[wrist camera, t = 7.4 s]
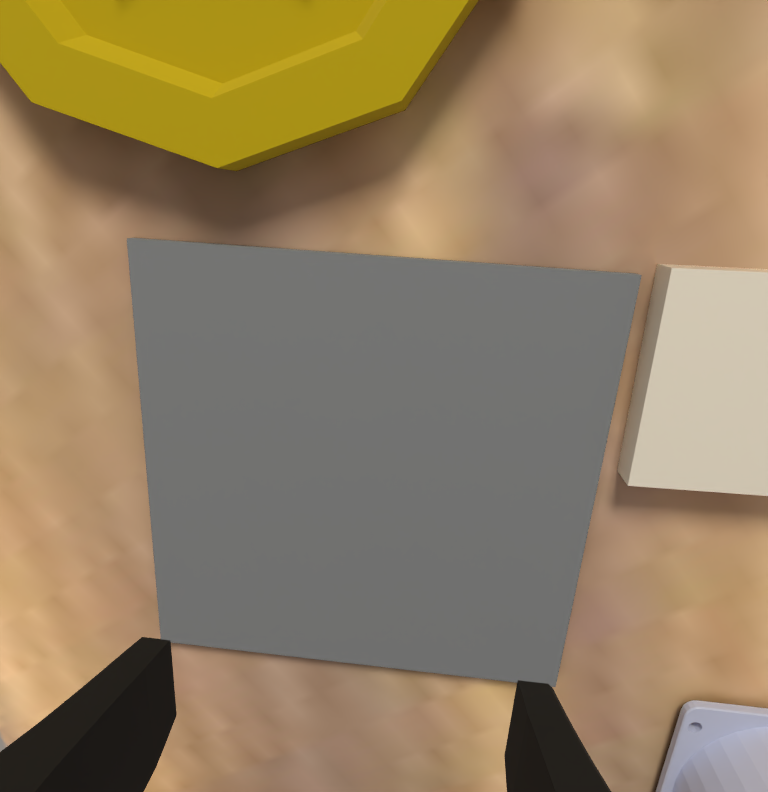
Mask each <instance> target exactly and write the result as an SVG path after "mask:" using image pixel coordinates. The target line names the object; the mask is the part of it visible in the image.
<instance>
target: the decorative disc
mask: <svg viewBox="0 0 768 792" xmlns="http://www.w3.org/2000/svg"><path fill="white" fill-rule="evenodd" d="M478 1H479V0H0V63H1V64H2V66H3V67H4V68H5V69H6V71H7V72H8V73H9V75H10V76H11V77H12V78H13V80H14V81H15V82H16V83H17V85H18V86H19V87H20V88H21V90H22V91H23V92H24V93H25V95H26V96H27V97H28V98H29V100H30V101H31V102H32V103H35V104H38V105H41V106H44V107H46V108H49V109H52V110H55V111H58V112H60V113H63V114H66V115H69V116H72V117H75V118H77V119H80V120H83V121H86V122H89V123H92V124H94V125H97V126H100V127H103V128H106V129H108V130H111V131H114V132H117V133H120V134H123V135H125V136H128V137H131V138H134V139H137V140H139V141H142V142H145V143H148V144H151V145H154V146H156V147H159V148H162V149H165V150H168V151H171V152H173V153H176V154H179V155H182V156H185V157H187V158H190V159H193V160H196V161H199V162H202V163H204V164H207V165H210V166H213V167H216V168H220V169H226V170H233V171H238V170H241V169H244V168H246V167H249V166H252V165H255V164H258V163H260V162H263V161H266V160H269V159H271V158H274V157H277V156H280V155H282V154H285V153H288V152H291V151H293V150H296V149H299V148H302V147H305V146H307V145H310V144H313V143H316V142H318V141H321V140H324V139H327V138H329V137H332V136H335V135H338V134H340V133H343V132H346V131H349V130H352V129H354V128H357V127H360V126H363V125H365V124H368V123H371V122H374V121H376V120H379V119H382V118H385V117H387V116H390V115H393V114H396V113H399V112H401V111H404V110H405V109H406V108H407V106H408V105H409V103H410V102H411V100H412V99H413V97H414V96H415V95H416V93H417V92H418V90H419V89H420V87H421V86H422V84H423V83H424V81H425V80H426V78H427V77H428V75H429V74H430V72H431V71H432V69H433V68H434V66H435V65H436V63H437V62H438V60H439V59H440V57H441V56H442V54H443V53H444V51H445V50H446V48H447V47H448V45H449V44H450V42H451V41H452V39H453V38H454V36H455V35H456V33H457V32H458V30H459V29H460V27H461V26H462V25H463V23H464V22H465V20H466V19H467V17H468V16H469V14H470V13H471V11H472V10H473V8H474V7H475V5H476V4H477V2H478Z"/></svg>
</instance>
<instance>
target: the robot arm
mask: <svg viewBox="0 0 768 792" xmlns="http://www.w3.org/2000/svg"><path fill="white" fill-rule="evenodd" d="M175 717H176V704H175V691H174V679H173V667H172V655H171V642H170V640H163V639H154V638H146V637H142V638H141V639H139V640H138V641H137V642H136V643H134V644H133V645H132V646H131V647H130V648H128V649H127V650H126V651H125V652H124V653H122V654H121V655H120V656H119V657H118V658H117V659H115V660H114V661H113V662H112V663H111V664H109V665H108V666H107V667H106V668H105V669H104V670H102V671H101V672H100V673H99V674H98V675H96V676H95V677H94V678H93V679H92V680H91V681H89V682H88V683H87V684H86V685H85V686H83V687H82V688H81V689H80V690H79V691H77V692H76V693H75V694H74V695H72V696H71V697H70V698H69V699H68V700H66V701H65V702H64V703H63V704H61V705H60V706H59V707H58V708H57V709H55V710H54V711H53V712H52V713H50V714H49V715H48V716H47V717H45V718H44V719H43V720H42V721H40V722H39V723H38V724H37V725H35V726H34V727H33V728H31V729H30V730H29V731H27V732H26V733H25V734H23V735H22V736H21V737H20V738H18V739H17V740H16V741H14V742H13V743H12V744H10V745H9V746H8V747H6V748H5V749H4V750H2V751H1V752H0V792H143V791H144V790H145V788H146V786H147V784H148V782H149V780H150V778H151V776H152V774H153V772H154V770H155V768H156V766H157V763H158V761H159V758H160V756H161V753H162V751H163V748H164V746H165V744H166V741H167V738H168V736H169V733H170V730H171V728H172V725H173V723H174V720H175ZM694 722H695V723H694ZM691 723H693V724H691ZM505 768H506V783H507V792H611V791H610V789H609V787H608V786H607V784H606V783H605V781H604V779H603V778H602V776H601V774H600V773H599V771H598V770H597V768H596V766H595V765H594V763H593V761H592V760H591V758H590V756H589V754H588V753H587V751H586V749H585V748H584V746H583V744H582V742H581V740H580V739H579V737H578V735H577V733H576V732H575V730H574V728H573V726H572V724H571V722H570V721H569V719H568V717H567V715H566V713H565V711H564V709H563V707H562V706H561V704H560V702H559V700H558V698H557V696H556V694H555V692H554V690H553V688H552V687H551V686H550V685H549V684H547V683H538V682H529V681H521V680H518V682H517V688H516V693H515V699H514V705H513V711H512V716H511V722H510V728H509V734H508V739H507V745H506V751H505ZM656 792H768V709H767V708H759V707H750V706H741V705H733V704H724V703H715V702H707V701H698V700H692V701H689V702H687V703H685V704H684V705H683V706H682V708H681V711H680V714H679V717H678V721H677V724H676V727H675V730H674V734H673V737H672V740H671V743H670V747H669V750H668V753H667V756H666V759H665V763H664V766H663V769H662V772H661V776H660V779H659V782H658V785H657V789H656Z"/></svg>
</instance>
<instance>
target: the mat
mask: <svg viewBox="0 0 768 792" xmlns="http://www.w3.org/2000/svg"><path fill="white" fill-rule="evenodd" d="M127 246H128V258H129V270H130V282H131V293H132V305H133V317H134V329H135V340H136V352H137V364H138V376H139V387H140V399H141V411H142V423H143V434H144V446H145V458H146V470H147V481H148V493H149V505H150V517H151V528H152V540H153V552H154V564H155V575H156V587H157V599H158V611H159V622H160V634H161V639H163V640H170V642H172V643H180V644H189V645H198V646H206V647H215V648H224V649H232V650H241V651H249V652H258V653H267V654H275V655H284V656H293V657H301V658H310V659H318V660H327V661H336V662H344V663H353V664H362V665H370V666H379V667H387V668H396V669H405V670H413V671H422V672H431V673H439V674H448V675H456V676H465V677H474V678H482V679H491V680H500V681H508V682H518V680H521V681H529V682H538V683H547V684H549V685H550V686H551V687H556V682H557V677H558V672H559V668H560V663H561V658H562V653H563V648H564V644H565V639H566V634H567V629H568V624H569V620H570V615H571V610H572V605H573V601H574V596H575V591H576V586H577V581H578V577H579V572H580V567H581V562H582V558H583V553H584V548H585V543H586V538H587V534H588V529H589V524H590V519H591V514H592V510H593V505H594V500H595V495H596V491H597V486H598V481H599V476H600V471H601V467H602V462H603V457H604V452H605V447H606V443H607V438H608V433H609V428H610V424H611V419H612V414H613V409H614V404H615V400H616V395H617V390H618V385H619V380H620V376H621V371H622V366H623V361H624V357H625V352H626V347H627V342H628V337H629V333H630V328H631V323H632V318H633V314H634V309H635V304H636V299H637V294H638V290H639V285H640V280H641V275H639V274H633V273H619V272H605V271H591V270H577V269H563V268H549V267H535V266H521V265H507V264H493V263H479V262H465V261H451V260H437V259H423V258H409V257H395V256H381V255H367V254H353V253H339V252H325V251H311V250H297V249H283V248H269V247H255V246H241V245H227V244H213V243H199V242H185V241H171V240H157V239H143V238H127Z"/></svg>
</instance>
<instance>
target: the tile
mask: <svg viewBox="0 0 768 792" xmlns="http://www.w3.org/2000/svg"><path fill="white" fill-rule="evenodd" d="M617 471H618V472H619V474H620V475H621V477H622V478H623V480H624V481H625V483H626V484H627V485H628V486H637V487H651V488H665V489H679V490H693V491H706V492H720V493H734V494H748V495H761V496H768V269H751V268H730V267H709V266H689V265H668V264H657V268H656V273H655V278H654V283H653V288H652V293H651V299H650V304H649V309H648V314H647V319H646V324H645V329H644V335H643V340H642V345H641V350H640V355H639V360H638V365H637V371H636V376H635V381H634V386H633V391H632V396H631V401H630V407H629V412H628V417H627V422H626V427H625V432H624V437H623V443H622V448H621V453H620V458H619V463H618V468H617Z"/></svg>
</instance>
